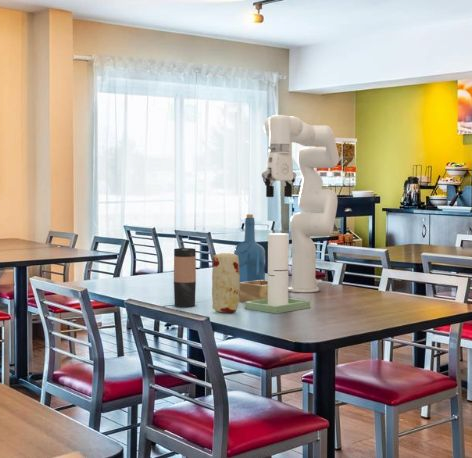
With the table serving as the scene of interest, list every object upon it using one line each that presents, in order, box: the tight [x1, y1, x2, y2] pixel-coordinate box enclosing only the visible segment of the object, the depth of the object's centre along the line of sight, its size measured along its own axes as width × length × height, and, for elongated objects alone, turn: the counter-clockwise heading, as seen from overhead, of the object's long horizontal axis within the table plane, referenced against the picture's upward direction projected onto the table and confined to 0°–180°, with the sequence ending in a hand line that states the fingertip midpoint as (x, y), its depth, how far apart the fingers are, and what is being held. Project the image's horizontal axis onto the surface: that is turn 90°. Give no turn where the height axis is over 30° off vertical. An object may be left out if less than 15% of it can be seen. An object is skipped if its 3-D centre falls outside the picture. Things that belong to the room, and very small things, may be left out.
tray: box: [244, 297, 311, 314], centre depth 271 cm, size 18×15×2 cm
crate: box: [238, 279, 268, 304], centre depth 285 cm, size 12×12×7 cm
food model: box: [211, 252, 240, 314], centre depth 261 cm, size 10×7×20 cm
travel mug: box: [173, 247, 197, 308], centre depth 274 cm, size 8×8×20 cm
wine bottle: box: [233, 213, 266, 282], centre depth 328 cm, size 14×13×30 cm
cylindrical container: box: [267, 232, 290, 306], centre depth 270 cm, size 7×7×25 cm
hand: (279, 196), depth 284 cm, fingers open, 9 cm apart
